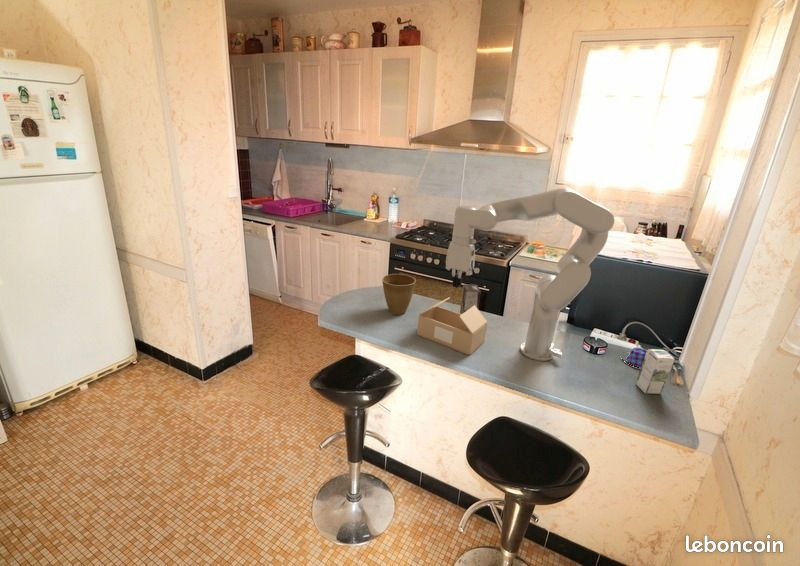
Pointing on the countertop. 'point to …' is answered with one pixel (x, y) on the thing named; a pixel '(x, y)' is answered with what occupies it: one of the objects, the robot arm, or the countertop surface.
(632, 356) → the purple plaid hat
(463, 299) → the coffee box
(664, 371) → the syrup box
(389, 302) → the plant pot
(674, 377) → the countertop surface
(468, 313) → the near flap
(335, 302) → the countertop surface
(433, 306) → the far flap
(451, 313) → the carton
